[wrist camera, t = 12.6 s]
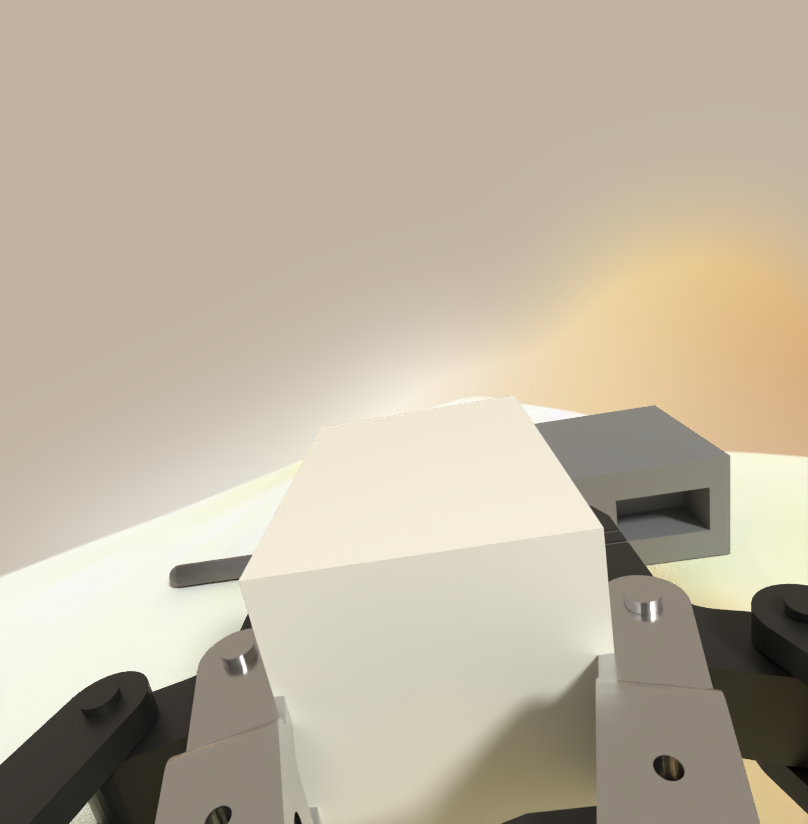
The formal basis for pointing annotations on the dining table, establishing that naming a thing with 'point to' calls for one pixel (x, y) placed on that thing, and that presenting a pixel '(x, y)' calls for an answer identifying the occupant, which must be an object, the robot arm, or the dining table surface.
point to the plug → (435, 619)
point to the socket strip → (616, 487)
